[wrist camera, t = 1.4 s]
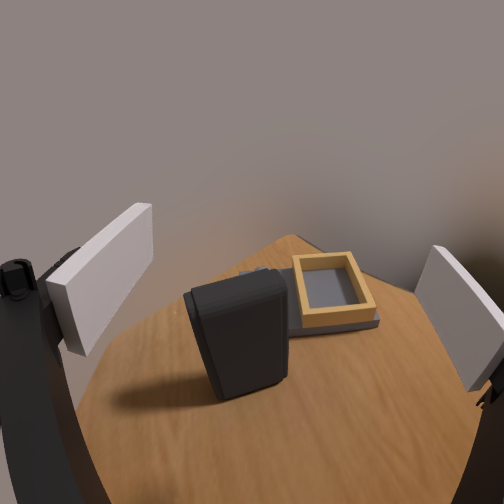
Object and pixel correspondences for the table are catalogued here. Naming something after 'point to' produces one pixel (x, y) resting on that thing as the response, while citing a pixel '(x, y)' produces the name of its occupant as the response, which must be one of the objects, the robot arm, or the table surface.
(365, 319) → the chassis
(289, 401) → the table surface
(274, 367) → the card reader
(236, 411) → the table surface
